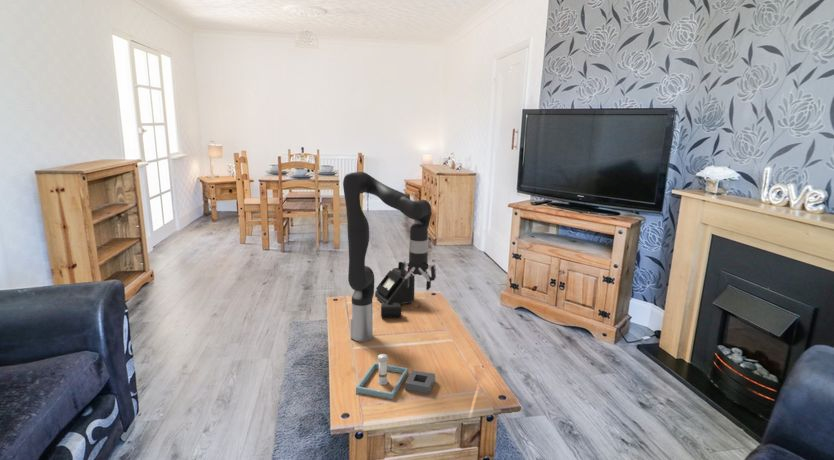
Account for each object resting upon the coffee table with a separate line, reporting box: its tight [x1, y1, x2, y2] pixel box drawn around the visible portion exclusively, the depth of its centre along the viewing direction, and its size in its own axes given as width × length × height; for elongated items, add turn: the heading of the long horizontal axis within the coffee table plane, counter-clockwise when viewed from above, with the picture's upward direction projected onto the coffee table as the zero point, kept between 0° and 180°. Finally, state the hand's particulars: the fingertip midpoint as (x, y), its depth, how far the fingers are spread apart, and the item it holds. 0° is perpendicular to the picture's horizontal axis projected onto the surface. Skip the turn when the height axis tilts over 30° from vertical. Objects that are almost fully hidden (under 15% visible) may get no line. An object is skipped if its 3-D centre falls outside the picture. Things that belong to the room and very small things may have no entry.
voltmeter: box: [374, 261, 416, 305], centre depth 244 cm, size 16×16×20 cm
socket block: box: [404, 369, 436, 396], centre depth 165 cm, size 9×9×4 cm
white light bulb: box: [377, 353, 389, 386], centre depth 166 cm, size 4×4×11 cm
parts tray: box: [355, 362, 409, 400], centre depth 167 cm, size 14×18×3 cm
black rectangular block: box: [380, 302, 402, 319], centre depth 225 cm, size 10×7×7 cm
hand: (417, 288), depth 182 cm, fingers open, 8 cm apart
